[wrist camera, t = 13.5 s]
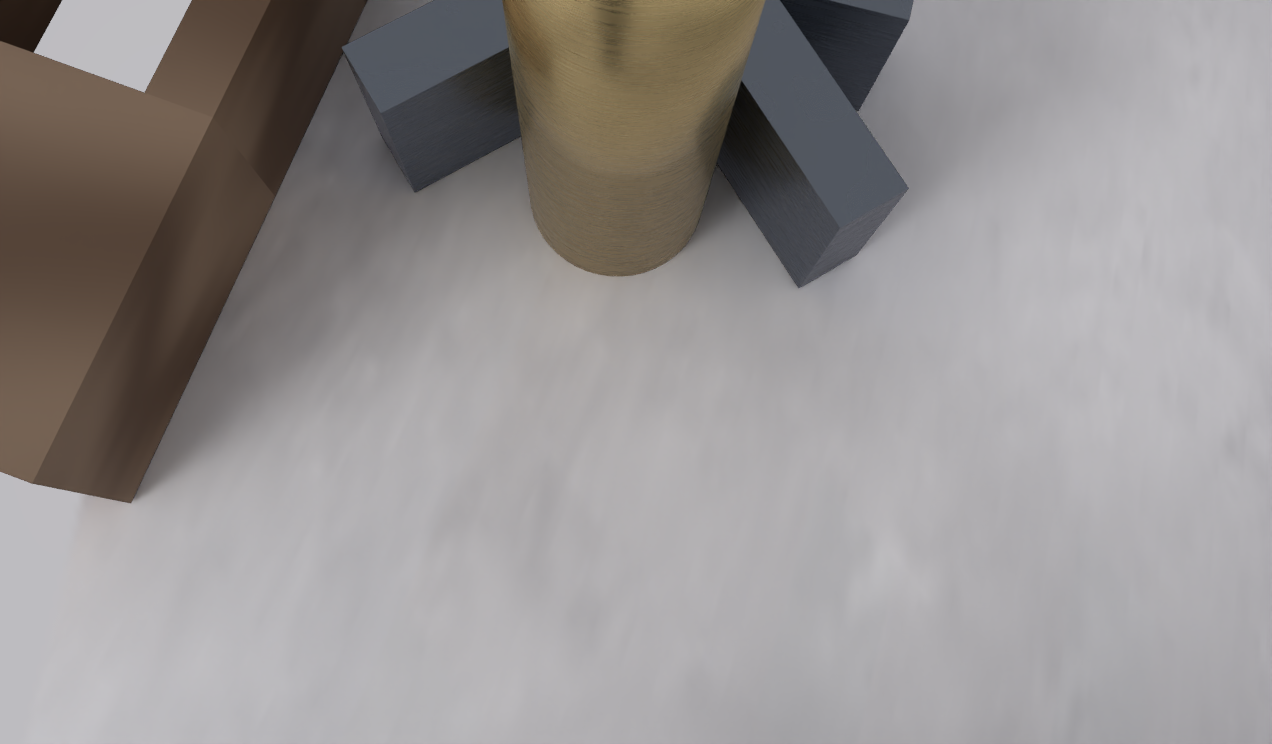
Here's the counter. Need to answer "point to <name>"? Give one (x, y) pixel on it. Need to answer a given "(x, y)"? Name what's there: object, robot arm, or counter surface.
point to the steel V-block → (755, 136)
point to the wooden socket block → (137, 222)
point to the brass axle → (624, 119)
